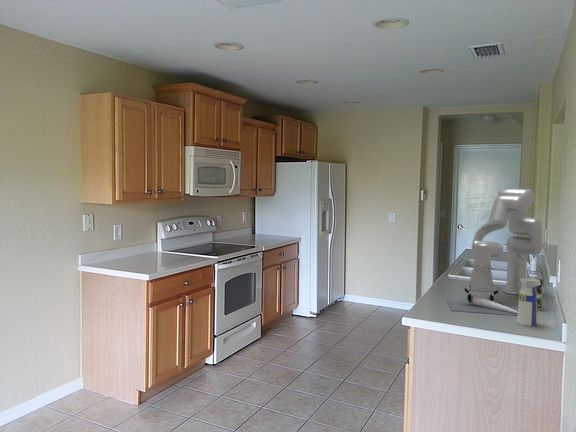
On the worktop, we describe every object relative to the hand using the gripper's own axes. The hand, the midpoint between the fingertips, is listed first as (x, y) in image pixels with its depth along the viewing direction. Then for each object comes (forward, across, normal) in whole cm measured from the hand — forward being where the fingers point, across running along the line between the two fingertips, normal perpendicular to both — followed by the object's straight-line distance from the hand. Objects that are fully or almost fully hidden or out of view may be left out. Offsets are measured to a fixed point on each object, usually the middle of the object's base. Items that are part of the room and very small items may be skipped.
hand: (480, 302), depth 226 cm
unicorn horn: (+2, -6, +4) cm, 7 cm away
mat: (+2, 0, +4) cm, 4 cm away
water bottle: (+2, -15, +24) cm, 28 cm away
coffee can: (+2, -23, -4) cm, 24 cm away
